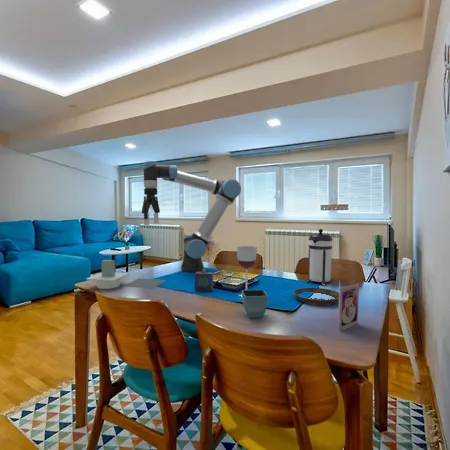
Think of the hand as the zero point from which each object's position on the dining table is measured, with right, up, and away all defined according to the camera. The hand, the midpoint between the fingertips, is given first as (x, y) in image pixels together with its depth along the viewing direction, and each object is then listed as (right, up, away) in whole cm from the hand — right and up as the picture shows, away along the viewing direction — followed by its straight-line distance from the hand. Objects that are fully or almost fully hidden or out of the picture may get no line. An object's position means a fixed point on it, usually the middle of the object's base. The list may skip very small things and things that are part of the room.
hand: (151, 224), depth 176 cm
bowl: (-17, -32, -21) cm, 42 cm away
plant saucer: (+85, -35, -41) cm, 101 cm away
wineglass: (+53, -34, -36) cm, 73 cm away
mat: (0, -32, -16) cm, 36 cm away
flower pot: (+55, -36, -61) cm, 89 cm away
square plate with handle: (-17, -27, -22) cm, 39 cm away
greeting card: (+85, -36, -69) cm, 115 cm away
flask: (+33, -33, -27) cm, 54 cm away
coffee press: (+97, -33, -8) cm, 102 cm away
